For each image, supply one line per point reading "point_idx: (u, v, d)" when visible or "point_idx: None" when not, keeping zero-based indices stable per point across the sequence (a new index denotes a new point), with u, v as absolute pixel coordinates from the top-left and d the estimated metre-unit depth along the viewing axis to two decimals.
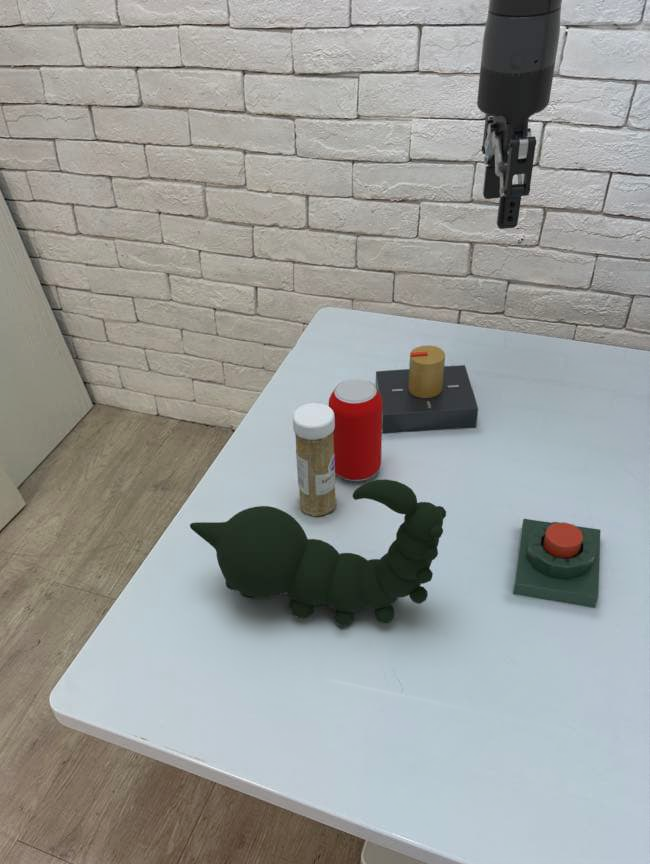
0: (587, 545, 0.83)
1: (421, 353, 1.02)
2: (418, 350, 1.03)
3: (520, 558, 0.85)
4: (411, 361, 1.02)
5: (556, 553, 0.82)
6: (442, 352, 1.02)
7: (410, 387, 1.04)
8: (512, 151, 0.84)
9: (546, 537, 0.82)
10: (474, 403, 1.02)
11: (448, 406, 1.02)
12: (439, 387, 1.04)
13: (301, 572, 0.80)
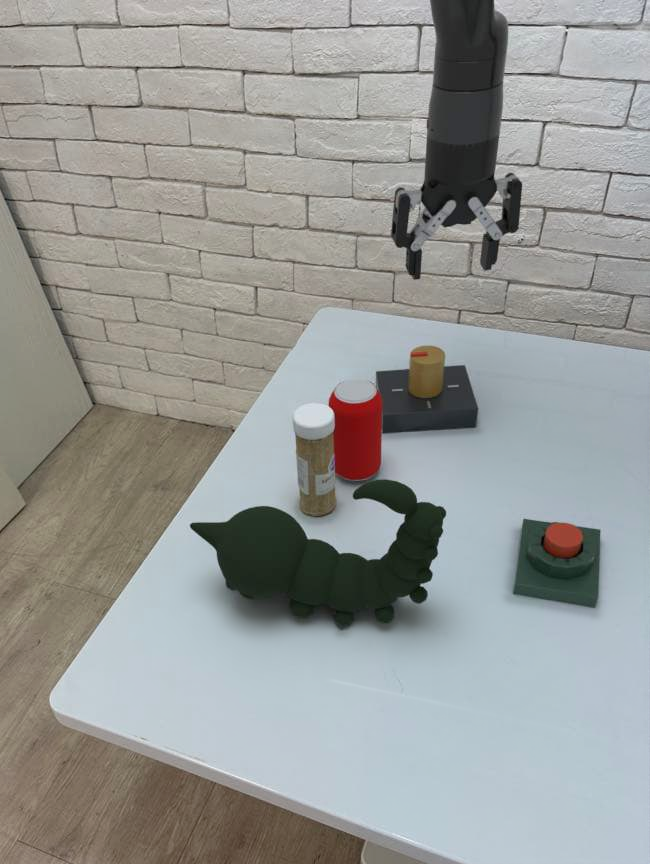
0: (587, 545, 0.83)
1: (421, 353, 1.02)
2: (418, 350, 1.03)
3: (520, 558, 0.85)
4: (411, 361, 1.02)
5: (556, 553, 0.82)
6: (442, 352, 1.02)
7: (410, 387, 1.04)
8: (394, 197, 0.90)
9: (546, 537, 0.82)
10: (474, 403, 1.02)
11: (448, 406, 1.02)
12: (439, 387, 1.04)
13: (301, 572, 0.80)
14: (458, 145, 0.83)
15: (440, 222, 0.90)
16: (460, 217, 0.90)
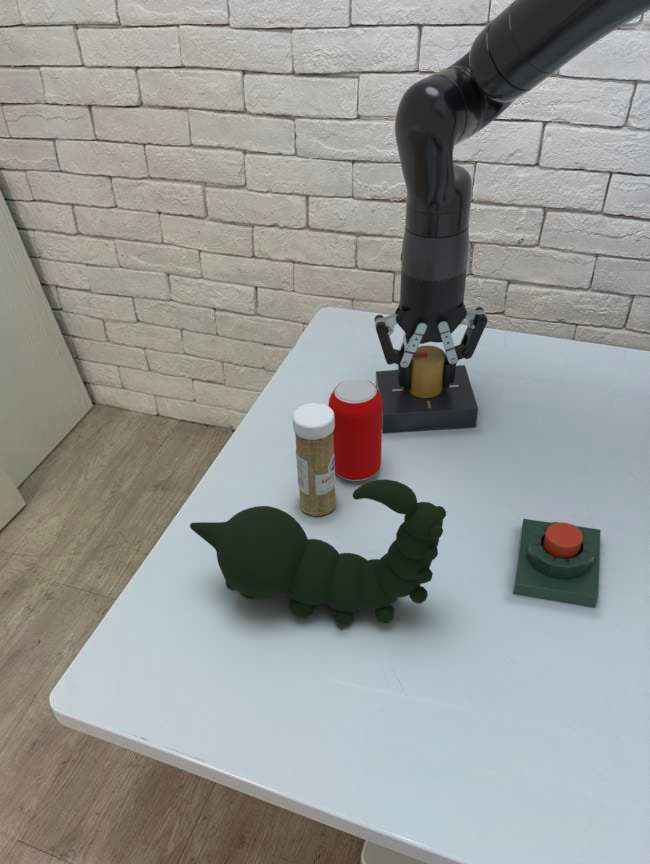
0: (587, 545, 0.83)
1: (421, 353, 1.02)
2: (418, 350, 1.03)
3: (520, 558, 0.85)
4: (411, 361, 1.02)
5: (556, 553, 0.82)
6: (442, 352, 1.02)
7: (410, 387, 1.04)
8: None
9: (546, 537, 0.82)
10: (474, 403, 1.02)
11: (448, 406, 1.02)
12: (439, 387, 1.04)
13: (301, 572, 0.80)
14: (425, 281, 0.91)
15: (413, 340, 0.99)
16: (432, 336, 0.99)
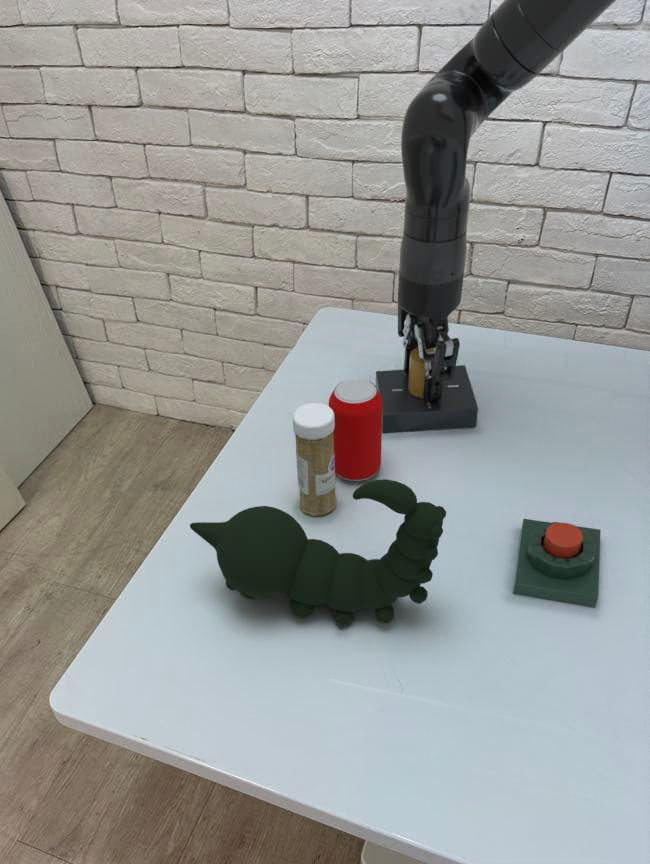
0: (587, 545, 0.83)
1: None
2: None
3: (520, 558, 0.85)
4: None
5: (556, 553, 0.82)
6: None
7: None
8: (440, 353, 0.95)
9: (546, 537, 0.82)
10: (474, 403, 1.02)
11: (448, 406, 1.02)
12: None
13: (301, 572, 0.80)
14: None
15: None
16: None
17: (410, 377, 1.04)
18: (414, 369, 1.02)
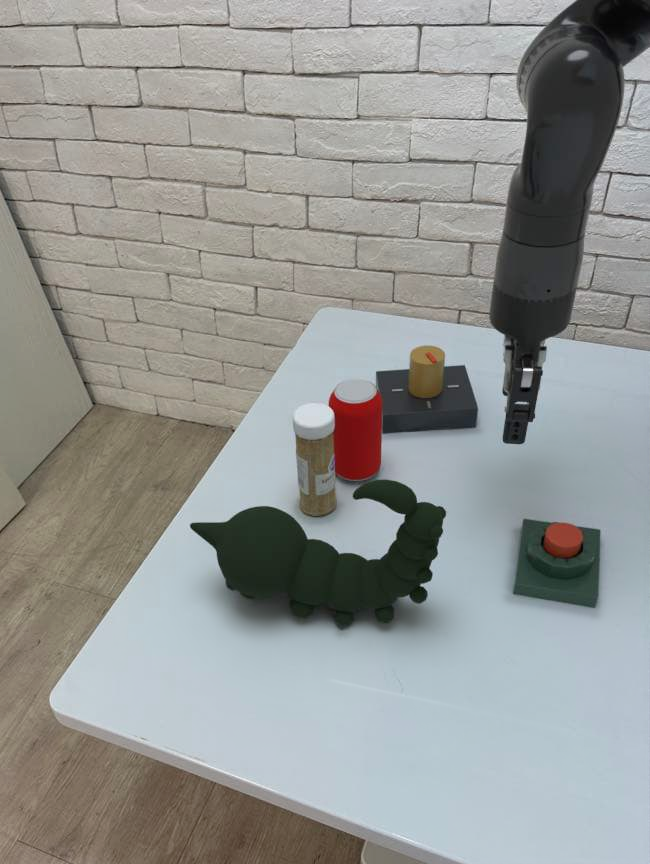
0: (587, 545, 0.83)
1: (430, 355, 1.01)
2: (423, 360, 1.01)
3: (520, 558, 0.85)
4: (439, 364, 1.01)
5: (556, 553, 0.82)
6: (419, 347, 1.03)
7: (438, 389, 1.04)
8: (514, 379, 0.75)
9: (546, 537, 0.82)
10: (474, 403, 1.02)
11: (448, 406, 1.02)
12: None
13: (301, 572, 0.80)
14: (575, 289, 0.73)
15: None
16: None
17: (410, 377, 1.04)
18: (414, 369, 1.02)
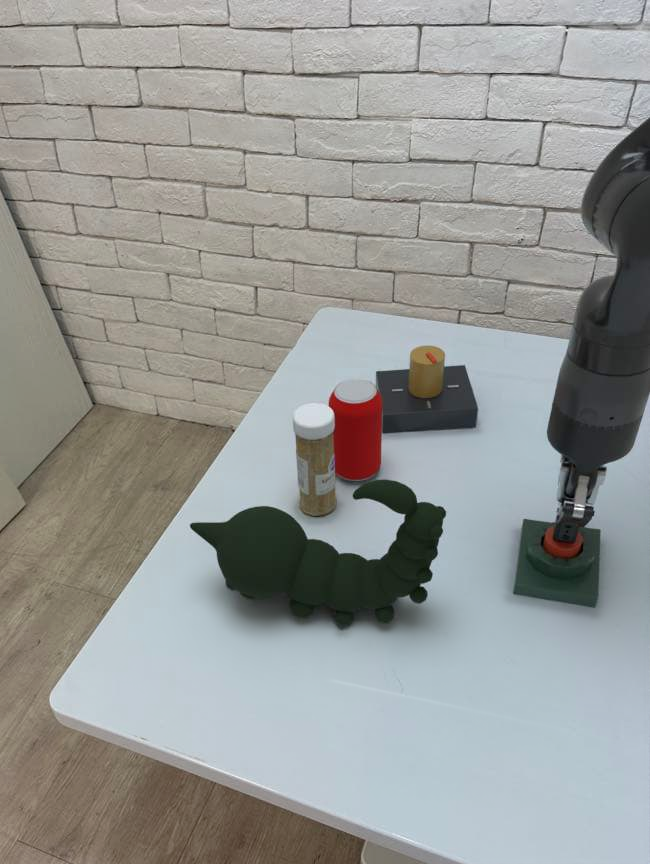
0: (587, 545, 0.83)
1: (430, 355, 1.01)
2: (423, 360, 1.01)
3: (520, 558, 0.85)
4: (439, 364, 1.01)
5: (556, 555, 0.82)
6: (419, 347, 1.03)
7: (438, 389, 1.04)
8: (563, 516, 0.73)
9: (545, 539, 0.83)
10: (474, 403, 1.02)
11: (448, 406, 1.02)
12: None
13: (301, 572, 0.80)
14: (641, 416, 0.69)
15: None
16: None
17: (410, 377, 1.04)
18: (414, 369, 1.02)
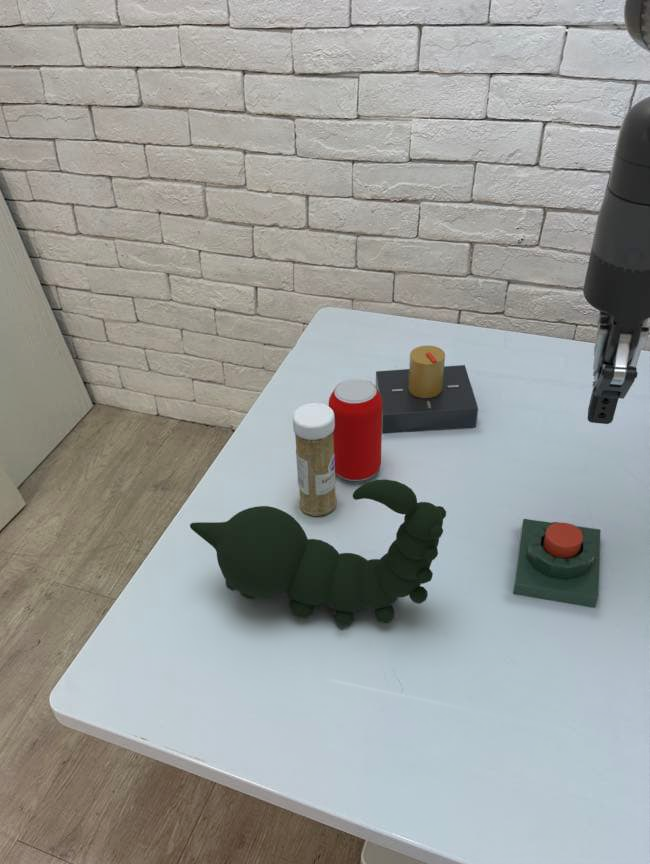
0: (587, 545, 0.83)
1: (430, 355, 1.01)
2: (423, 360, 1.01)
3: (520, 558, 0.85)
4: (439, 364, 1.01)
5: (556, 553, 0.82)
6: (419, 347, 1.03)
7: (438, 389, 1.04)
8: (602, 381, 0.67)
9: (546, 537, 0.82)
10: (474, 403, 1.02)
11: (448, 406, 1.02)
12: None
13: (301, 572, 0.80)
14: None
15: None
16: None
17: (410, 377, 1.04)
18: (414, 369, 1.02)
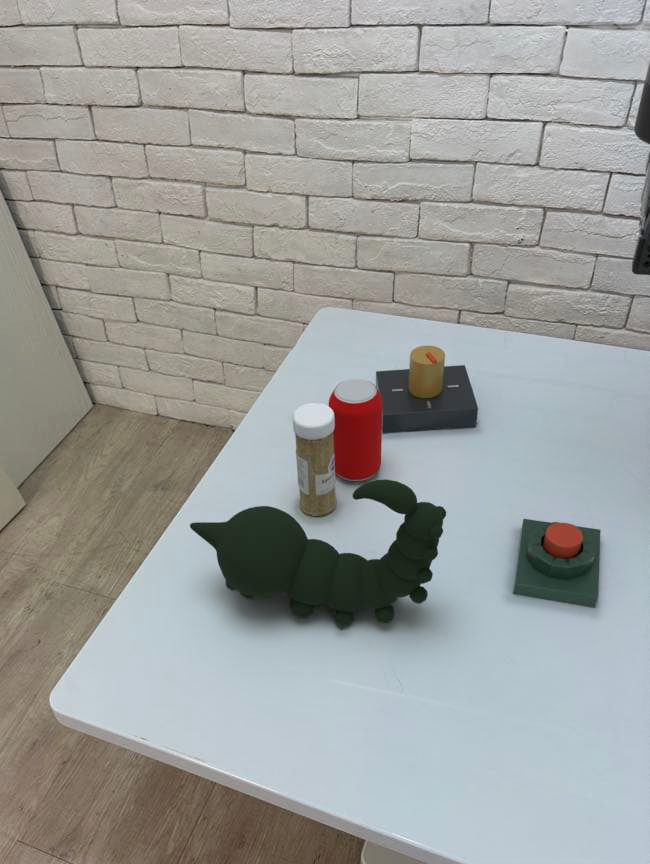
0: (587, 545, 0.83)
1: (430, 355, 1.01)
2: (423, 360, 1.01)
3: (520, 558, 0.85)
4: (439, 364, 1.01)
5: (556, 553, 0.82)
6: (419, 347, 1.03)
7: (438, 389, 1.04)
8: None
9: (546, 537, 0.82)
10: (474, 403, 1.02)
11: (448, 406, 1.02)
12: None
13: (301, 572, 0.80)
14: None
15: None
16: None
17: (410, 377, 1.04)
18: (414, 369, 1.02)
